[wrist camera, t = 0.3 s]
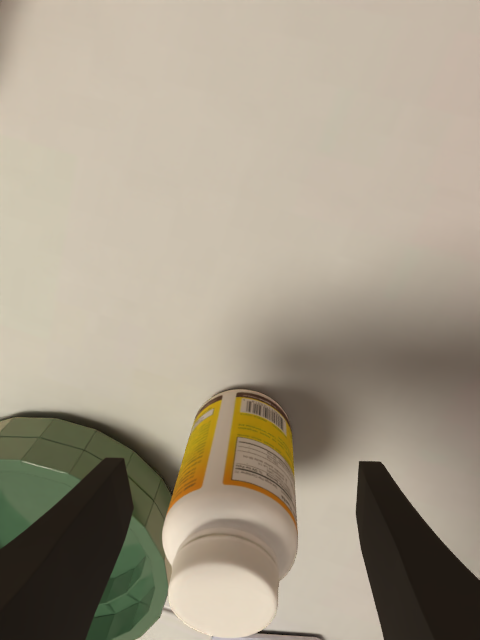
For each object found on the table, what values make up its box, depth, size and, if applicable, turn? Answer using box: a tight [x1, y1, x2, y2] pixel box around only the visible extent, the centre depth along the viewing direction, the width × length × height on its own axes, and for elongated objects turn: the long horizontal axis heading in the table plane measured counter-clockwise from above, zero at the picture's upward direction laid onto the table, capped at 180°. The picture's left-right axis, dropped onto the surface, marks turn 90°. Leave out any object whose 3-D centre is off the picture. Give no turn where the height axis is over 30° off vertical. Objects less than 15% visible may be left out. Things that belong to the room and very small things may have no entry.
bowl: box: [0, 417, 172, 640], centre depth 26 cm, size 16×16×4 cm
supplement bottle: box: [162, 389, 298, 638], centre depth 20 cm, size 6×6×10 cm
